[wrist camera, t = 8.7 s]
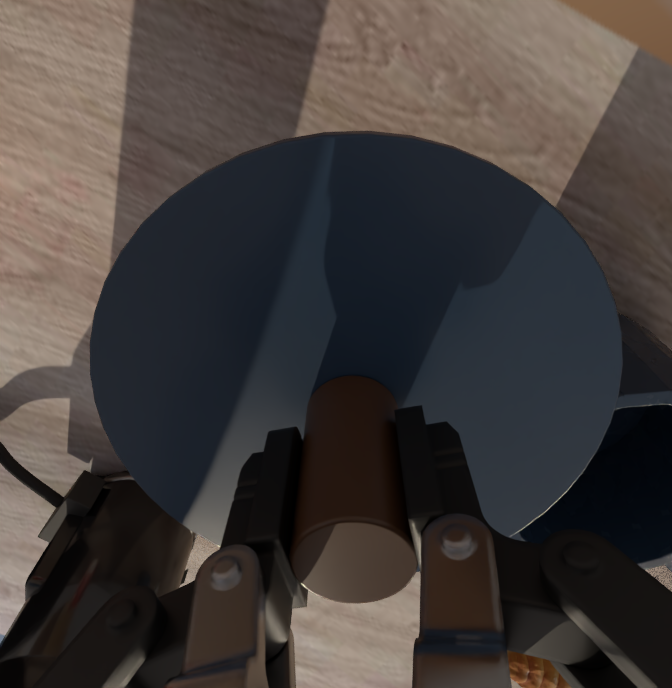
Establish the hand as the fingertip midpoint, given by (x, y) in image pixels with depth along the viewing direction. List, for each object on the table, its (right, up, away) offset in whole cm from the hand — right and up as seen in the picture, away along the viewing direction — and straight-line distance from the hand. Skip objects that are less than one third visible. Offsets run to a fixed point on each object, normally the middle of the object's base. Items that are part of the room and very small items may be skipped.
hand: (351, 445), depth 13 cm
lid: (0, +1, +2) cm, 2 cm away
